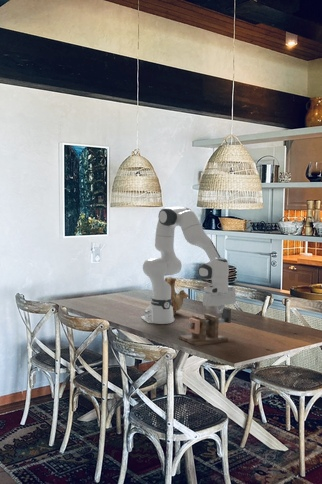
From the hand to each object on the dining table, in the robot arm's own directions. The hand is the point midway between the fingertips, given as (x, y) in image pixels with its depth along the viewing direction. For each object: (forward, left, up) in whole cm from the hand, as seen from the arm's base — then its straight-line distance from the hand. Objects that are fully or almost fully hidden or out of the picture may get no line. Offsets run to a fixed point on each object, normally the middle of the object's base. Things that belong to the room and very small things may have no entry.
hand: (219, 313), depth 281 cm
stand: (0, -9, -13) cm, 16 cm away
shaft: (0, -7, -5) cm, 9 cm away
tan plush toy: (-62, +9, -13) cm, 64 cm away
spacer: (0, -16, -5) cm, 17 cm away
